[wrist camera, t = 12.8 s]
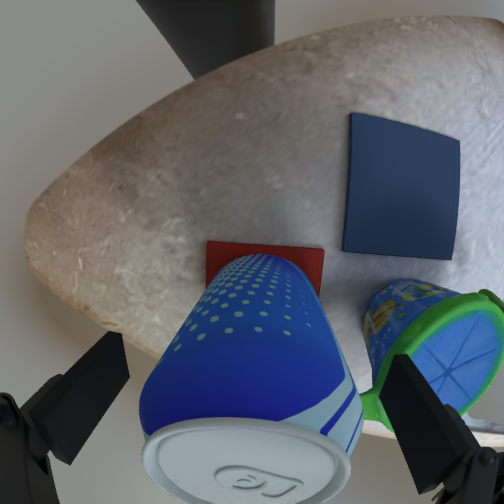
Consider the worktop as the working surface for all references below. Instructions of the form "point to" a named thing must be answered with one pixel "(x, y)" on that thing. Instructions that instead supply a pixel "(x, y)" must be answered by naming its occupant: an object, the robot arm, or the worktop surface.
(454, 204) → the blue mat
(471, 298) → the snack cup
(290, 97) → the worktop surface
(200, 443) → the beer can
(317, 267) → the red mat
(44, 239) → the worktop surface
